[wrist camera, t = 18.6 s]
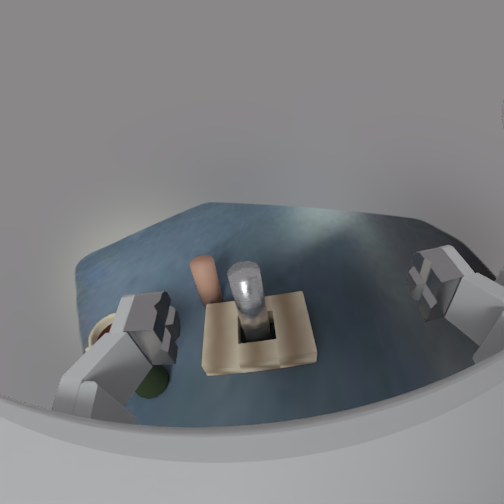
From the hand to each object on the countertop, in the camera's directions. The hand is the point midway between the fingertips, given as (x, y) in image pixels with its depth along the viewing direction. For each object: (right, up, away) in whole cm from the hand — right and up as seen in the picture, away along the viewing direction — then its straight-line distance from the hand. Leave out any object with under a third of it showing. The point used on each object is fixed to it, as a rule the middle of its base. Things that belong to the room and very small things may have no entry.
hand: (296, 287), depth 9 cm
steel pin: (0, -12, +34) cm, 36 cm away
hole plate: (0, -12, +34) cm, 36 cm away
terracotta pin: (-9, -8, +42) cm, 44 cm away
